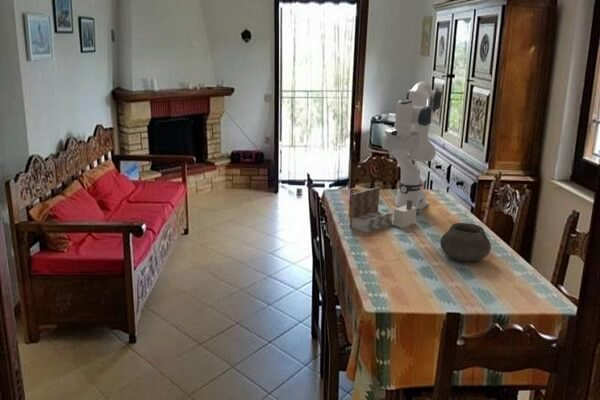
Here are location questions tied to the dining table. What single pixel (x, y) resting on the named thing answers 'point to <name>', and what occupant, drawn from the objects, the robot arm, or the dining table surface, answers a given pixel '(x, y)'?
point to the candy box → (352, 190)
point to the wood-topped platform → (368, 211)
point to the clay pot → (465, 242)
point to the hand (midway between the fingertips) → (399, 157)
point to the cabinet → (405, 215)
